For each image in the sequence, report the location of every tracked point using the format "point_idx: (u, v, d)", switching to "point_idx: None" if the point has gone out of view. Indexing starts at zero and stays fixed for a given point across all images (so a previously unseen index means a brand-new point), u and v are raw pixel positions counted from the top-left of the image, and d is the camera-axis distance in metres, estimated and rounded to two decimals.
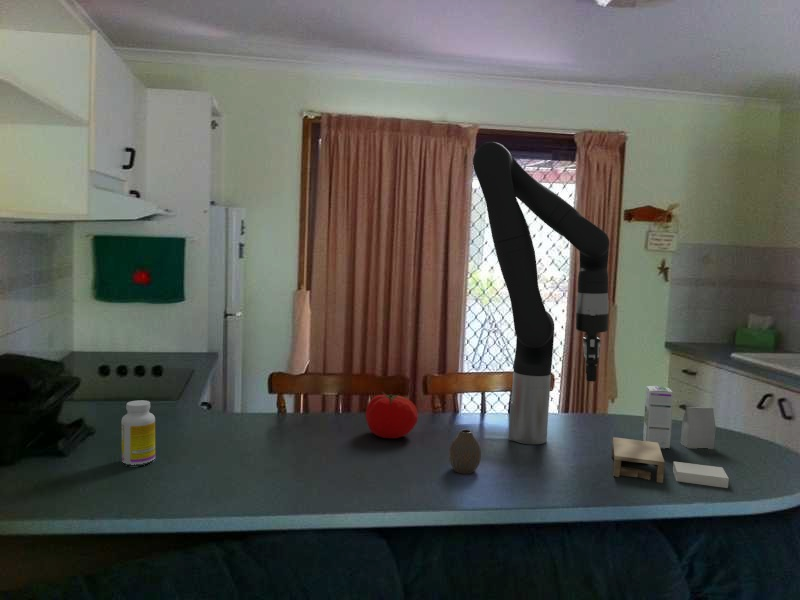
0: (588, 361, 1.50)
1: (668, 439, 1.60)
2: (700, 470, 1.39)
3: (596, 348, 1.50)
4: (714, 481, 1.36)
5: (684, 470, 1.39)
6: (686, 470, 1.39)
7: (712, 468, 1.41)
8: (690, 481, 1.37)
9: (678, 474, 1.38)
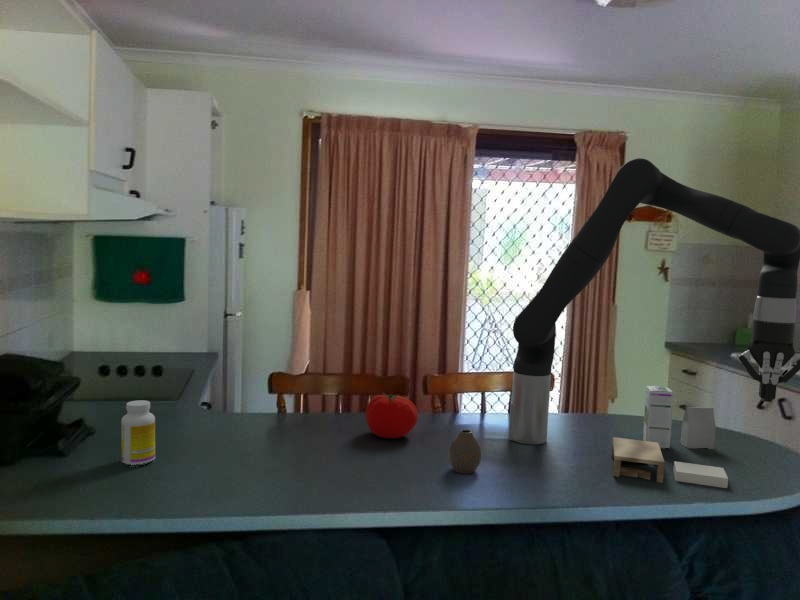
0: None
1: (668, 439, 1.60)
2: (700, 470, 1.39)
3: None
4: (714, 482, 1.36)
5: (683, 470, 1.39)
6: (686, 469, 1.39)
7: (713, 468, 1.41)
8: (689, 481, 1.37)
9: (677, 474, 1.38)
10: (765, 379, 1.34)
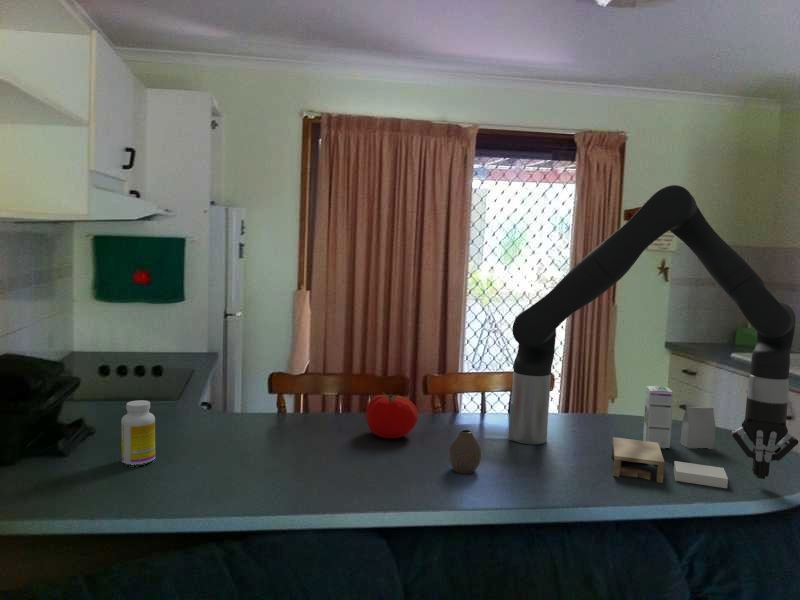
0: None
1: (668, 439, 1.60)
2: (700, 470, 1.39)
3: None
4: (714, 482, 1.36)
5: (683, 470, 1.39)
6: (686, 469, 1.39)
7: (713, 468, 1.41)
8: (689, 481, 1.38)
9: (677, 474, 1.38)
10: (758, 457, 1.35)
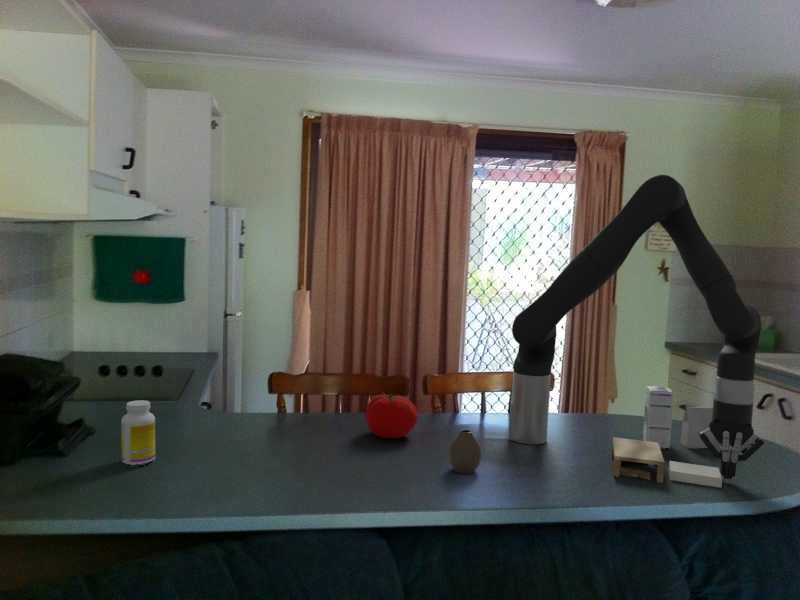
0: None
1: (668, 439, 1.60)
2: (695, 470, 1.39)
3: None
4: (708, 481, 1.36)
5: (677, 470, 1.39)
6: (680, 469, 1.40)
7: (708, 468, 1.41)
8: (683, 480, 1.38)
9: (671, 473, 1.39)
10: (725, 457, 1.37)
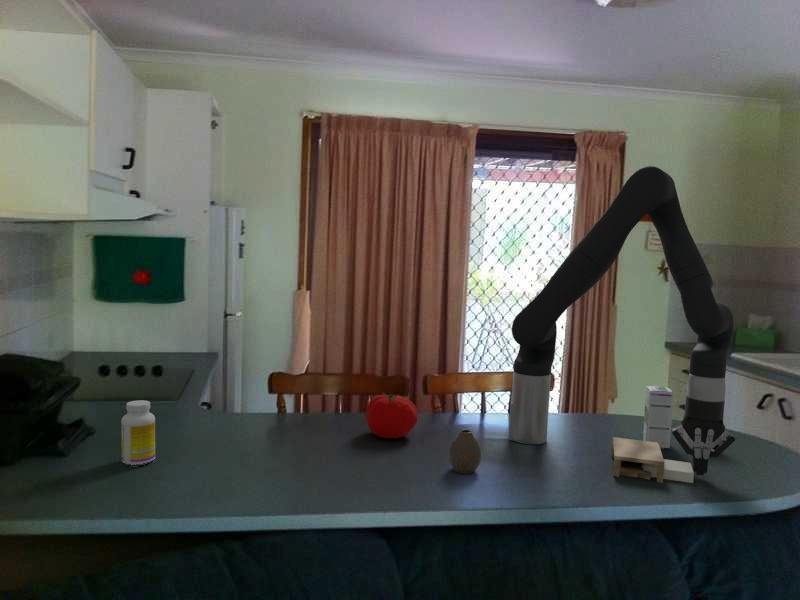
0: None
1: (668, 439, 1.60)
2: (667, 465, 1.41)
3: None
4: (680, 476, 1.38)
5: (650, 465, 1.41)
6: (654, 464, 1.42)
7: (680, 463, 1.43)
8: (656, 475, 1.40)
9: (645, 468, 1.40)
10: (697, 454, 1.39)
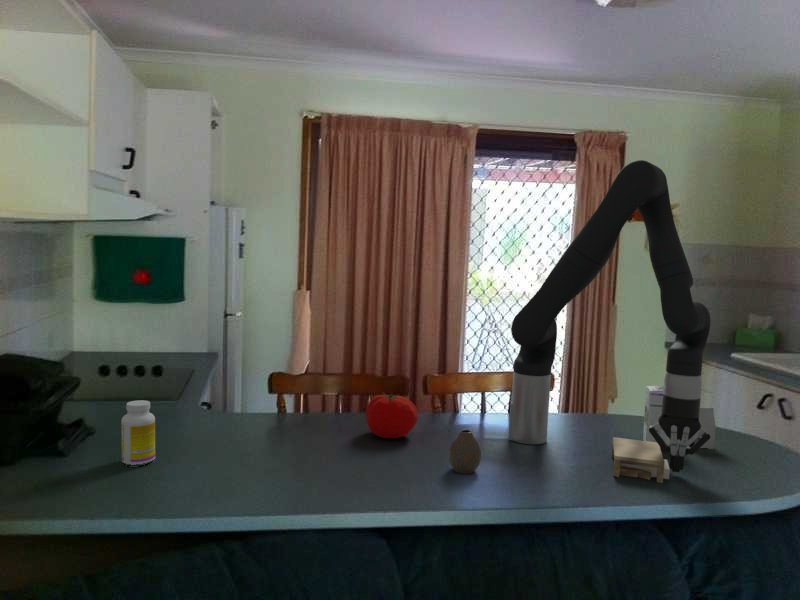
0: None
1: (668, 439, 1.60)
2: None
3: None
4: (656, 473, 1.40)
5: (627, 462, 1.43)
6: (630, 461, 1.43)
7: None
8: None
9: (622, 465, 1.42)
10: (673, 451, 1.40)
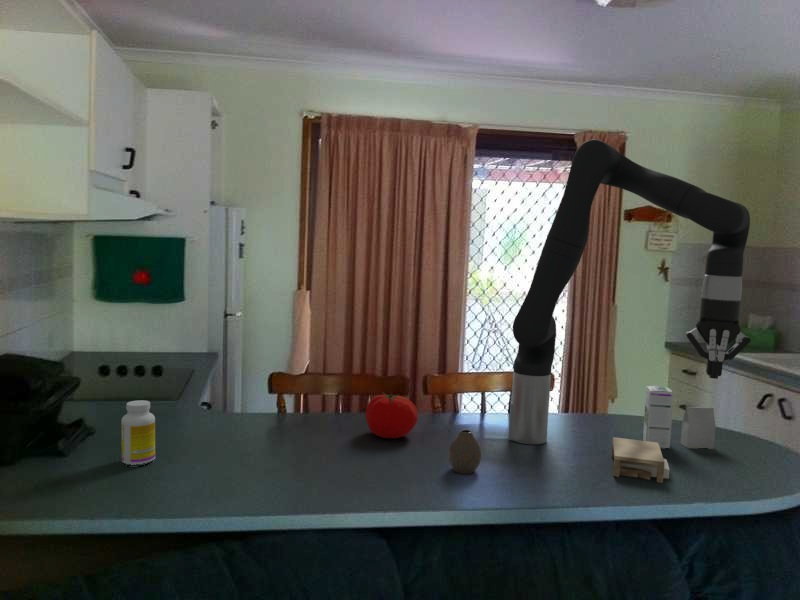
0: None
1: (668, 439, 1.60)
2: None
3: None
4: (656, 472, 1.40)
5: (627, 462, 1.43)
6: (630, 461, 1.43)
7: None
8: None
9: (621, 465, 1.42)
10: (712, 356, 1.36)
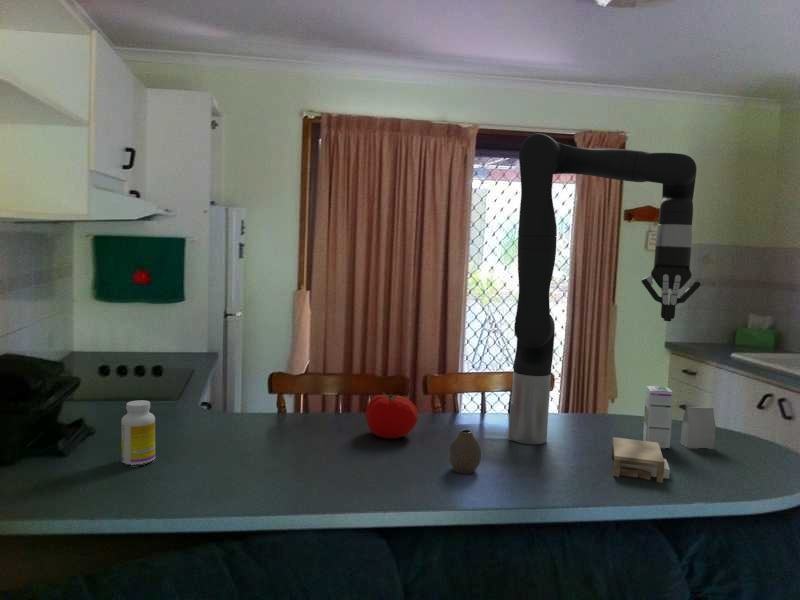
0: None
1: (668, 439, 1.60)
2: None
3: None
4: (656, 472, 1.40)
5: (627, 462, 1.43)
6: (630, 461, 1.43)
7: None
8: None
9: (622, 465, 1.42)
10: (665, 300, 1.46)
